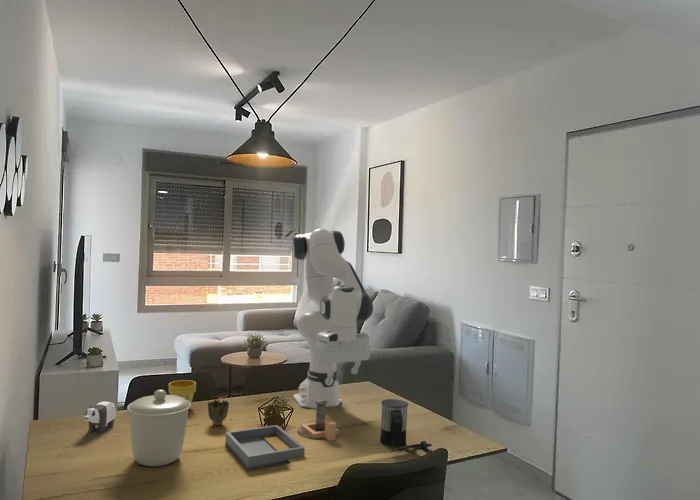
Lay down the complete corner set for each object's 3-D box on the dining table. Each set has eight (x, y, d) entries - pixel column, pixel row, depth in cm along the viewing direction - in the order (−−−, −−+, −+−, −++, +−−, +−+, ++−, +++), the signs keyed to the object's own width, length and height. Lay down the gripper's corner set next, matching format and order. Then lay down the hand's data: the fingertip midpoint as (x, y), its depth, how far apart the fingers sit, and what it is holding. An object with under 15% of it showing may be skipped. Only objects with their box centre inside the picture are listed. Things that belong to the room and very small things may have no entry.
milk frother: (374, 442, 185) (376, 399, 185) (416, 438, 191) (418, 396, 191) (392, 458, 172) (394, 412, 172) (436, 454, 178) (438, 409, 177)
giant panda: (102, 422, 192) (103, 396, 192) (116, 424, 191) (118, 397, 191) (77, 437, 177) (78, 408, 177) (93, 439, 177) (94, 409, 177)
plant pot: (161, 410, 209) (162, 384, 209) (177, 402, 219) (178, 378, 219) (185, 413, 206) (186, 388, 206) (200, 406, 216) (201, 381, 216)
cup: (230, 422, 199) (231, 400, 199) (224, 429, 191) (225, 406, 191) (211, 420, 199) (212, 399, 199) (203, 427, 192) (204, 404, 192)
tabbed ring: (300, 428, 191) (301, 413, 191) (326, 425, 196) (326, 409, 196) (318, 442, 179) (319, 425, 179) (345, 438, 184) (345, 422, 184)
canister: (167, 443, 176) (170, 378, 175) (201, 460, 164) (203, 390, 164) (113, 459, 162) (116, 389, 161) (145, 478, 150) (148, 402, 150)
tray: (225, 444, 177) (225, 432, 177) (276, 436, 186) (277, 425, 186) (248, 470, 158) (248, 456, 158) (304, 460, 167) (304, 447, 167)
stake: (289, 431, 192) (290, 397, 192) (329, 425, 200) (330, 393, 200) (308, 447, 178) (310, 410, 178) (351, 440, 186) (352, 405, 186)
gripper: (363, 330, 191) (362, 370, 191) (312, 334, 180) (311, 376, 180) (374, 333, 185) (373, 374, 185) (322, 337, 174) (321, 380, 174)
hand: (342, 375), depth 182 cm, fingers open, 8 cm apart
